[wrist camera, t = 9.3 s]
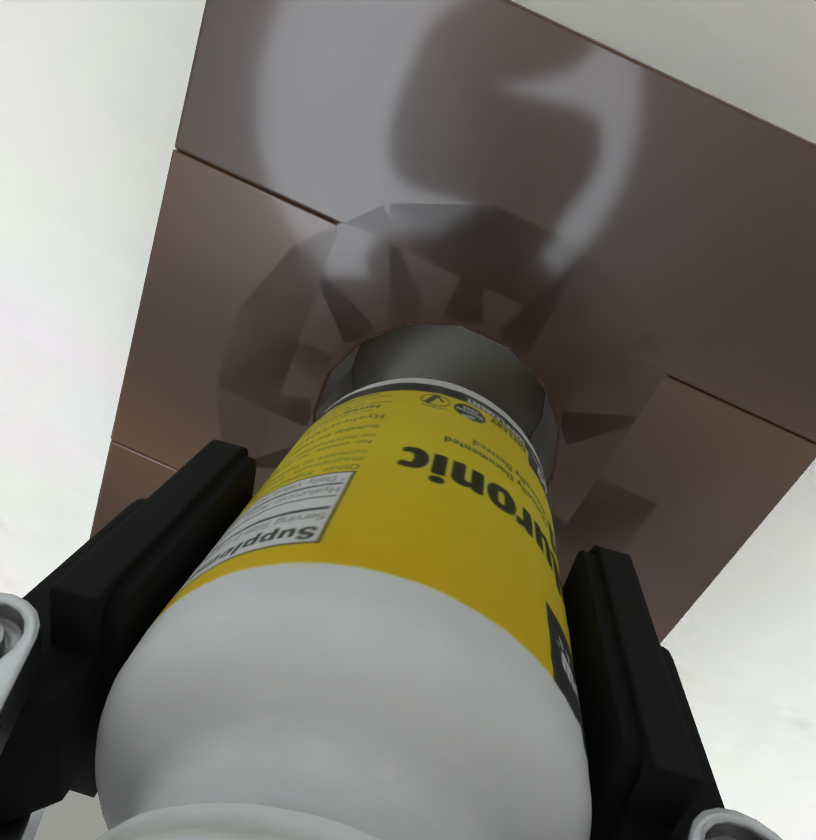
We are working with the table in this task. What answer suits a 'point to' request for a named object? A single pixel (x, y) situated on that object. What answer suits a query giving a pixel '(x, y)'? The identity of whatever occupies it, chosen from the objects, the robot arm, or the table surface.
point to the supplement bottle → (363, 648)
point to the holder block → (485, 264)
